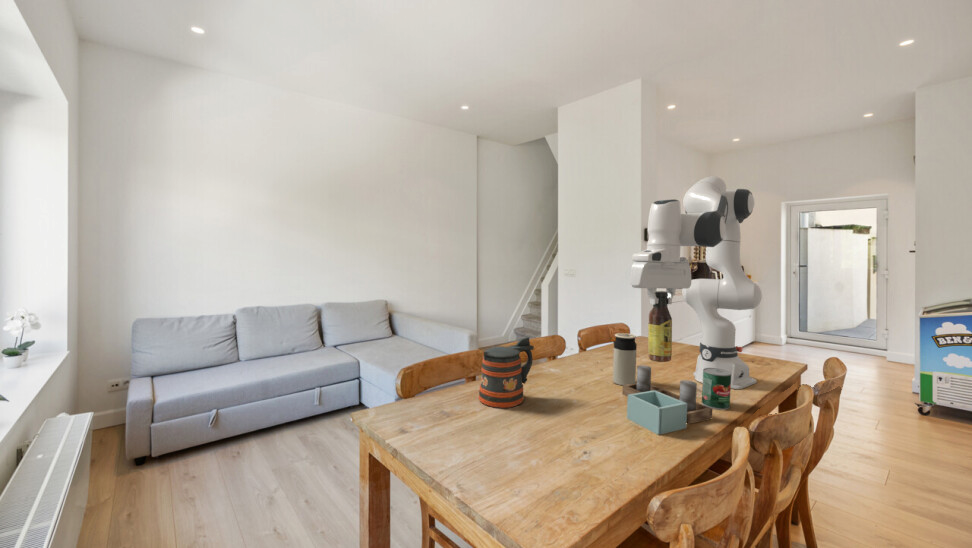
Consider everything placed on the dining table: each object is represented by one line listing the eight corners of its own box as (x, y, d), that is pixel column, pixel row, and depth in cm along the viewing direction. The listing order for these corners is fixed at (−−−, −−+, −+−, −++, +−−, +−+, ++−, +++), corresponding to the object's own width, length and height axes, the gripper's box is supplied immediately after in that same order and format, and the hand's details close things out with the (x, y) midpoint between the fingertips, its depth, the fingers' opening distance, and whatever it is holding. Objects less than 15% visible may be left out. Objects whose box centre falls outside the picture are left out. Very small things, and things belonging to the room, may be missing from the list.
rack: (644, 390, 141) (645, 362, 141) (712, 418, 117) (713, 385, 117) (622, 393, 137) (623, 365, 137) (687, 424, 113) (689, 389, 113)
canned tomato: (724, 411, 123) (725, 376, 122) (697, 404, 129) (698, 370, 128) (733, 405, 128) (735, 372, 127) (707, 398, 134) (709, 366, 133)
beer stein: (516, 387, 143) (517, 331, 142) (543, 400, 130) (544, 339, 129) (470, 397, 133) (471, 337, 131) (494, 412, 120) (495, 346, 119)
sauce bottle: (668, 364, 111) (668, 293, 110) (645, 361, 115) (645, 292, 114) (674, 358, 116) (674, 290, 115) (651, 355, 120) (651, 290, 119)
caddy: (653, 412, 121) (654, 390, 121) (686, 428, 111) (687, 403, 110) (626, 418, 117) (627, 394, 117) (658, 434, 106) (659, 409, 106)
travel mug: (612, 385, 146) (614, 336, 145) (612, 378, 154) (614, 332, 153) (636, 387, 144) (637, 338, 143) (634, 380, 152) (636, 333, 151)
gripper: (679, 257, 121) (677, 302, 122) (627, 254, 113) (625, 303, 113) (698, 257, 115) (695, 305, 116) (644, 254, 107) (642, 305, 108)
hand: (660, 304), depth 115 cm, fingers closed on sauce bottle, 4 cm apart
